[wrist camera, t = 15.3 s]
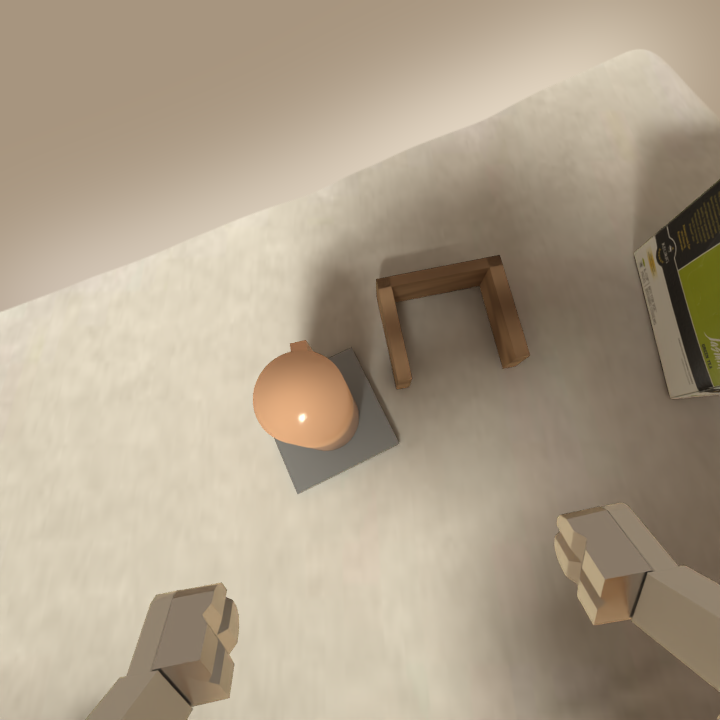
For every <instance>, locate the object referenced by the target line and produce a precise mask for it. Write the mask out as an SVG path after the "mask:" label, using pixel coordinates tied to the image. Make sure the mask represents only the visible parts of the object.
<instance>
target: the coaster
mask: <svg viewBox="0 0 720 720" xmlns="http://www.w3.org/2000/svg"><path fill="white" fill-rule="evenodd" d="M328 359H329V360H331V361H332V362H333V363H334V364H335V365H336V367H337V368H338V369H339V371H340V372H341V374H342V376H343V378H344V380H345V382H346V384H347V386H348V388H349V390H350V392H351V394H352V396H353V398H354V400H355V402H356V404H357V407H358V410H359V424H358V428H357V431H356V433H355V434H354V436H353V437H352V439H351V440H350V441H349V442H348V443H347V444H345V445H344V446H342V447H341V448H338V449H336V450H332V451H320V450H315V449H311V448H307V447H302V446H298V445H294V444H289V443H285V442H282V441H280V440H277V439H276V438H274V439H275V441H276V444H277V446H278V449H279V451H280V453H281V456H282V458H283V461H284V463H285V465H286V468H287V470H288V472H289V475H290V477H291V480H292V482H293V484H294V487H295V489H296V492H297V494H299V493H301V492H303V491H305V490H308V489H310V488H312V487H314V486H316V485H318V484H320V483H322V482H324V481H326V480H328V479H330V478H332V477H334V476H336V475H338V474H340V473H342V472H344V471H346V470H348V469H350V468H352V467H354V466H356V465H358V464H360V463H362V462H364V461H366V460H368V459H370V458H372V457H374V456H376V455H378V454H380V453H382V452H384V451H386V450H388V449H390V448H392V447H394V446H396V445H398V444H399V442H398V440H397V438H396V436H395V434H394V432H393V430H392V428H391V426H390V424H389V422H388V420H387V418H386V416H385V414H384V412H383V410H382V408H381V406H380V404H379V402H378V400H377V398H376V396H375V394H374V392H373V390H372V388H371V386H370V384H369V382H368V380H367V378H366V376H365V374H364V372H363V369H362V367H361V365H360V363H359V361H358V359H357V357H356V355H355V353H354V351H353V349H352V347H351V348H349V349H347V350H345V351H343V352H340V353H338V354H336V355H334V356H332V357H330V358H328Z"/></svg>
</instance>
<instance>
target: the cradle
mask: <svg viewBox="0 0 720 720" xmlns="http://www.w3.org/2000/svg"><path fill="white" fill-rule="evenodd" d="M477 286H480V290H481V293H482V297H483V300H484V304H485V308H486V311H487V315H488V318H489V322H490V325H491V329H492V332H493V336H494V339H495V343H496V346H497V350H498V353H499V357H500V360H501V364H502V367H503V369H504V368H509V367H514V366H516V365H518V364H519V363H521V362H522V361H523V360H525V359H526V358H527V357H529V356H530V353H529V350H528V346H527V343H526V340H525V337H524V333H523V330H522V327H521V323H520V320H519V317H518V314H517V310H516V307H515V304H514V300H513V297H512V294H511V291H510V287H509V284H508V281H507V277H506V274H505V271H504V268H503V264H502V261H501V258H500V255H497V256H492V257H487V258H482V259H477V260H472V261H466V262H461V263H456V264H451V265H446V266H441V267H436V268H431V269H426V270H421V271H415V272H410V273H405V274H400V275H395V276H390V277H385V278H380V279H376V291H377V300H378V305H379V310H380V314H381V319H382V324H383V328H384V333H385V338H386V342H387V347H388V352H389V356H390V361H391V366H392V370H393V375H394V380H395V384H396V389H402V388H407V387H409V386H410V383H411V380H412V376H411V371H410V367H409V362H408V358H407V353H406V349H405V345H404V340H403V336H402V331H401V327H400V322H399V318H398V314H397V309H396V305H395V302H400V301H405V300H410V299H415V298H421V297H426V296H431V295H436V294H441V293H446V292H451V291H456V290H461V289H466V288H472V287H477Z"/></svg>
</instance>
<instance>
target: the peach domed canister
mask: <svg viewBox="0 0 720 720" xmlns="http://www.w3.org/2000/svg"><path fill="white" fill-rule="evenodd" d="M290 347H291V352H288V353H285V354H283V355H281V356H279V357H277V358H275V359H274V360H273V361H271V362H270V363H269V364H268V365H267V366H266V367H265V368H264V370H263V371H262V372H261V374H260V375H259V377H258V379H257V382H256V385H255V388H254V393H253V406H254V411H255V414H256V417H257V419H258V421H259V423H260V424H261V426H262V427H263V429H264V430H265V431H266V432H267V433H268V434H270V435H271V436H272V437H274V438H276V439H277V440H280V441H282V442H285V443H289V444H294V445H298V446H302V447H307V448H311V449H315V450H320V451H332V450H336V449H338V448H341V447H342V446H344V445H345V444H347V443H348V442H349V441H350V440H351V439H352V437H353V436H354V434H355V433H356V431H357V428H358V424H359V410H358V407H357V404H356V402H355V400H354V398H353V396H352V394H351V392H350V390H349V388H348V386H347V384H346V382H345V380H344V378H343V376H342V374H341V372H340V371H339V369H338V368H337V367H336V365H335V364H334V363H333V362H332V361H331V360H329V359H328V358H326V357H325V356H323V355H321V354H318V353H316V352H313V350H312V349H311V347H310V346H309V344H308V343H307V341H306V340H304V341H300V342H295V343H290Z"/></svg>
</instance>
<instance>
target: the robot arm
mask: <svg viewBox="0 0 720 720" xmlns="http://www.w3.org/2000/svg"><path fill="white" fill-rule="evenodd" d="M556 525H557V527H558V528H559V530H560V532H559V533H558V534H557V535H556V536H555V540H554V547H555V552H556V556H557V559H558V561H559V564H560V566H561V568H562V570H563V572H564V574H565V575H566V577H567V578H569V579H570V580H572V581H573V582H574V583H576V584H577V585H578V590H577V597H578V599H579V601H580V602H581V604H582V606H583V608H584V609H585V611H586V613H587V615H588V617H589V618H590V620H591V622H592V624H593V625H600V624H606V623H612V622H618V621H624V620H630V619H632V621H631V622H633V623H634V624H635V625H636V626H638V627H639V628H640V629H641V630H643V631H644V632H645V633H646V634H648V635H649V636H650V637H651V638H653V639H654V640H655V641H656V642H658V643H659V644H660V645H661V646H662V647H664V648H665V649H666V650H667V651H669V652H670V653H671V654H672V655H674V656H675V657H676V658H677V659H679V660H680V661H681V662H682V663H684V664H685V665H686V666H687V667H689V668H690V669H691V670H692V671H694V672H695V673H696V674H697V675H698V676H700V677H701V678H702V679H703V680H705V681H706V682H707V683H708V684H710V685H711V686H712V687H713V688H715V689H716V690H717V691H718V692H720V584H718V583H716V582H714V581H712V580H711V579H709V578H707V577H705V576H704V575H702V574H700V573H698V572H696V571H695V570H693V569H691V568H689V567H688V566H686V565H684V566H678V565H677V564H676V563H675V561H674V560H673V559H672V558H671V557H670V555H669V554H668V553H667V552H666V551H665V549H664V548H663V547H662V546H661V544H660V543H659V542H658V541H657V540H656V538H655V537H654V536H653V535H652V534H651V532H650V531H649V530H648V529H647V528H646V526H645V525H644V524H643V523H642V522H641V520H640V519H639V518H638V517H637V516H636V514H635V513H634V512H633V511H632V510H631V508H630V507H629V506H628V505H626V504H624V503H616V504H611V505H606V506H601V507H594V508H589V509H585V510H580V511H576V512H571V513H566V514H562V515H559V516H558V517H557V523H556ZM226 593H227V589H226V588H225V586H224V585H223V583H222V582H221V583H216V584H211V585H206V586H200V587H195V588H190V589H185V590H177V591H173V592H168V593H163V594H158V595H156V596H155V598H154V599H153V601H152V602H151V604H150V607H149V610H148V613H147V616H146V619H145V622H144V625H143V628H142V631H141V634H140V637H139V640H138V643H137V646H136V649H135V652H134V655H133V658H132V661H131V664H130V667H129V670H128V673H127V676H124V677H120V678H119V679H118V680H117V682H116V683H115V684H114V685H113V687H112V688H111V689H110V690H109V691H108V693H107V694H106V695H105V696H104V698H103V699H102V700H101V701H100V703H99V704H98V705H97V706H96V707H95V709H94V710H93V711H92V712H91V714H90V715H89V716H88V717H87V718H86V720H187V718H188V717H189V715H190V713H191V711H192V710H193V709H192V707H193V706H197V705H202V704H206V703H210V702H215V701H219V700H223V699H228V698H230V691H231V684H232V677H233V671H234V662H233V660H232V658H231V656H230V655H229V654H230V653H231V651H232V650H233V648H234V647H235V645H236V644H237V642H238V634H239V614H238V610H237V606H236V604H235V603H234V601H233V600H231V599H229V598H227V597H226ZM717 720H720V714H719V716H718V717H717Z"/></svg>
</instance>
